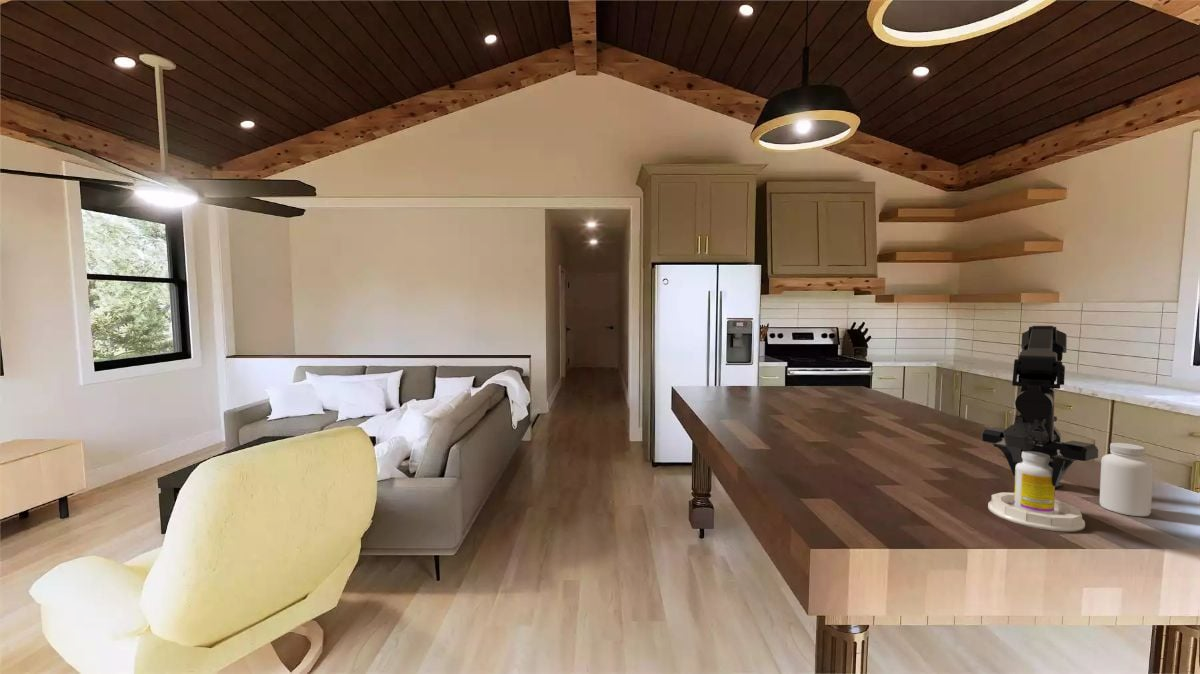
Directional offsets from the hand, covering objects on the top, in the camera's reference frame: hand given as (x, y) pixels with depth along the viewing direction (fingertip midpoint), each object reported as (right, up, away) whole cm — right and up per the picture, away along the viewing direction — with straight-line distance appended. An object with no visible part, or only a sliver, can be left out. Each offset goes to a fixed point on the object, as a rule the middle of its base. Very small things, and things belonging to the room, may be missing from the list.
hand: (1034, 480), depth 107 cm
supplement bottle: (0, -7, 0) cm, 7 cm away
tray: (0, -8, 0) cm, 8 cm away
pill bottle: (+23, -8, +3) cm, 24 cm away
